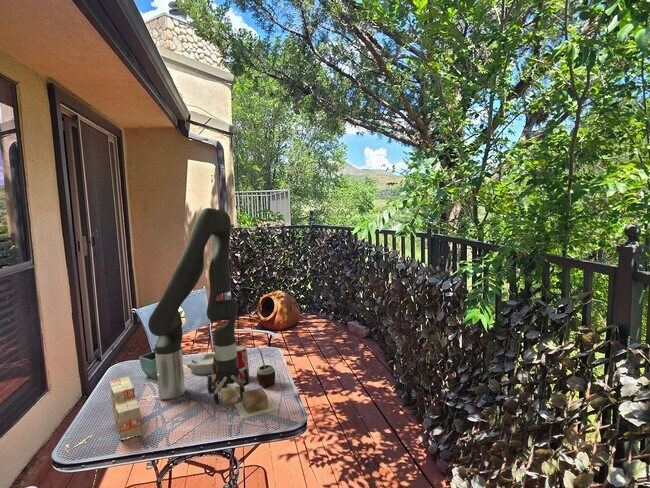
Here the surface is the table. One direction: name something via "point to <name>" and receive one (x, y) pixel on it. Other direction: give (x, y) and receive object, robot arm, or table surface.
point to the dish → (202, 364)
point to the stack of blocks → (125, 408)
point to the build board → (244, 413)
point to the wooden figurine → (214, 374)
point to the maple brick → (229, 395)
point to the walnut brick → (255, 400)
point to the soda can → (242, 360)
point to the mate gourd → (265, 374)
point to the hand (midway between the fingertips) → (229, 399)
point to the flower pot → (149, 364)
